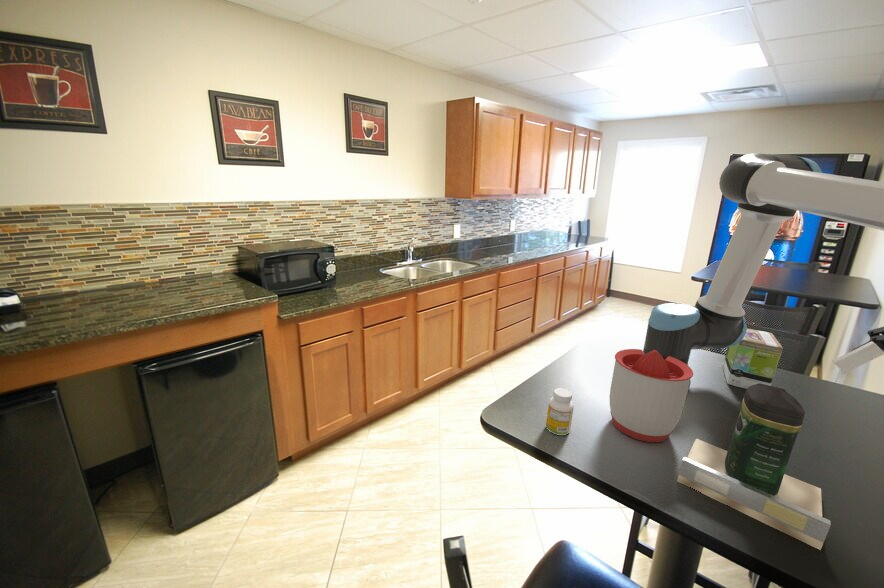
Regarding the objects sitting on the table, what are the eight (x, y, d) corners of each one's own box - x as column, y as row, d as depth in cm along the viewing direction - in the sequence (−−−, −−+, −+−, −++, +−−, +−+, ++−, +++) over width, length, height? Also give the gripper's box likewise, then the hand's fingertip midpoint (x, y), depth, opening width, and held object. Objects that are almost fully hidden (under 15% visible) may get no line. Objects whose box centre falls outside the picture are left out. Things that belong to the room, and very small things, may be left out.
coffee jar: (782, 505, 66) (815, 412, 61) (727, 486, 69) (754, 398, 64) (769, 471, 74) (797, 387, 69) (721, 456, 77) (744, 375, 72)
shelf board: (677, 481, 72) (678, 474, 72) (694, 444, 83) (696, 438, 83) (820, 550, 59) (823, 542, 58) (818, 495, 70) (821, 488, 70)
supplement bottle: (553, 419, 90) (558, 383, 88) (573, 430, 87) (579, 392, 84) (541, 428, 86) (546, 391, 84) (562, 440, 83) (568, 401, 80)
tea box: (769, 395, 106) (784, 347, 102) (726, 384, 111) (739, 338, 107) (759, 374, 119) (772, 331, 115) (721, 366, 124) (732, 324, 120)
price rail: (678, 475, 71) (682, 460, 70) (680, 471, 73) (684, 456, 72) (823, 544, 58) (830, 526, 57) (823, 538, 59) (830, 520, 58)
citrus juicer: (678, 420, 92) (696, 345, 87) (675, 459, 78) (697, 373, 73) (610, 399, 100) (623, 330, 95) (597, 432, 86) (611, 352, 81)
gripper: (1169, 372, 43) (943, 453, 53) (967, 299, 65) (834, 366, 75) (1123, 326, 43) (905, 416, 53) (936, 269, 65) (807, 340, 75)
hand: (863, 387), depth 64 cm, fingers open, 13 cm apart
